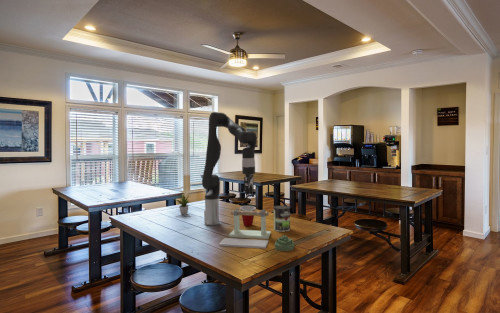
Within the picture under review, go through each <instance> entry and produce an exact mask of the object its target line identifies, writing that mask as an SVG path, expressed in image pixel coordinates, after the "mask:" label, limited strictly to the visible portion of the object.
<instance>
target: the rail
mask: <svg viewBox="0 0 500 313" xmlns="http://www.w3.org/2000/svg"><path fill="white" fill-rule="evenodd" d="M261 211H262V210H261ZM261 211H258V210H257V211H256V210H255V211H241V210H239V211H237V215H239V216H242V215H254V216H260V217H261ZM230 215H232V216H234V210H231V211H230ZM264 216H266V217H269V211H266V212H264Z"/></svg>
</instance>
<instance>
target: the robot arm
mask: <svg viewBox="0 0 500 313" xmlns="http://www.w3.org/2000/svg"><path fill="white" fill-rule="evenodd" d="M217 127H220V128H226V129H227V130H228V132H229V133H230V135H232V136H234V137H235V138H236V139H237V140H238V142H239V143H240V144H244V145H246V144H247V146H246V147H244V148H242V150H241V152H242V155H241V156H242V159H241V168H242V170H241V172H242V175H245V176H244V177H243V188H244V189H245V190H244V191H245V195H246V196H249V195H250V193H253V192H254V189H253V187H254V185H255V184H254V180H255V179H254V175H255V174H256V160H255V149H256V146H257V141H258V137H257V133H255V132H254V131H246V129H245V128H244V127H243V126H242V125H239V124H238V123H236V122H235V121H234V120H232V118H230V117H229V116H228V115H227V114H225V113H224V112H217V111H213V112H211V113H210V114H209V117H208V134H207V145H206V155H205V164H204V168H203V173H202V178H201V179H202V180H201V185H202V187H203V189H205V190H208V192H207V193H205V195H204V205H205V206H204V208H205V209H203V210H204V212H203V213H204V214H203V215H204V216H203V217H204V225H206V226H216V225H217V226H218V225H220V201H219V198H220V197H219V196H220V192H221V191H220V190H221V189H220V188H221V181H220V177H219V176H218V175H216V174H213V172H214V169H215V168H216V165H217V163H218V161H219V160H220V158H221V154H222V153H221V152H222V145H221V143H220V140H219V138H218V136H217V134H218V133H217V129H218V128H217Z"/></svg>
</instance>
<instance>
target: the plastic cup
mask: <svg viewBox="0 0 500 313" xmlns="http://www.w3.org/2000/svg"><path fill="white" fill-rule="evenodd" d="M256 209H257V207H256V206H254V205H242V206H240V207H239V211H256ZM254 216H255V215H241V218H242V223H243V226H244V227H252V226H253V224H254Z"/></svg>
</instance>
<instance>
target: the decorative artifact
mask: <svg viewBox="0 0 500 313" xmlns="http://www.w3.org/2000/svg"><path fill="white" fill-rule="evenodd" d="M274 249H275V250H276V251H280V252H291V251H293V250H294V249H295V242H294V241H293V239H292V238H289V237H288V236H287V235H285V234H283V235H281V236H280V237H278V238H276V241H274Z"/></svg>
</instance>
